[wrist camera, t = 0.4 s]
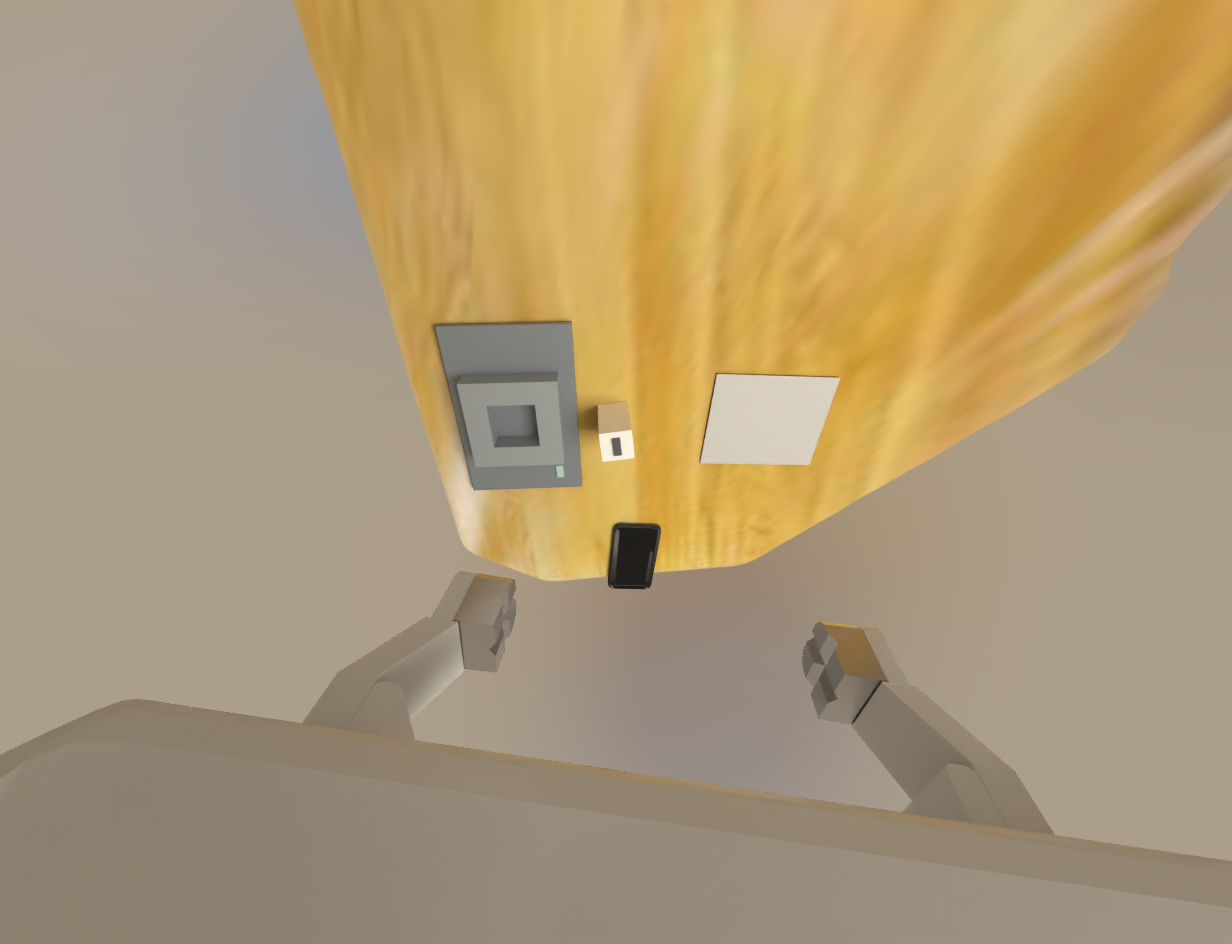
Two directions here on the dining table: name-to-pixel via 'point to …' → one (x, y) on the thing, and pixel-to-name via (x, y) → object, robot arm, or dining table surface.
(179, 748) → the robot arm
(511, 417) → the power dock
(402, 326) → the dining table surface
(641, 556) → the phone
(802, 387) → the paper stack
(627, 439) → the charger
